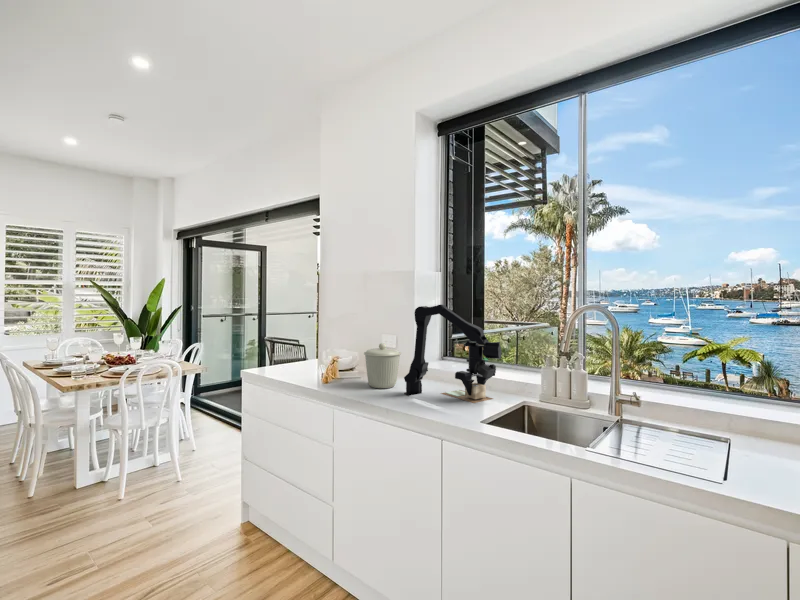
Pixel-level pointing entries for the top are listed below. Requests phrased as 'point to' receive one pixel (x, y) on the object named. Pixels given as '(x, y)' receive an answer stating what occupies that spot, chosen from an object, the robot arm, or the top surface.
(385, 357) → the canister
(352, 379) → the top surface
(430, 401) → the top surface
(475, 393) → the collar
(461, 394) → the board
